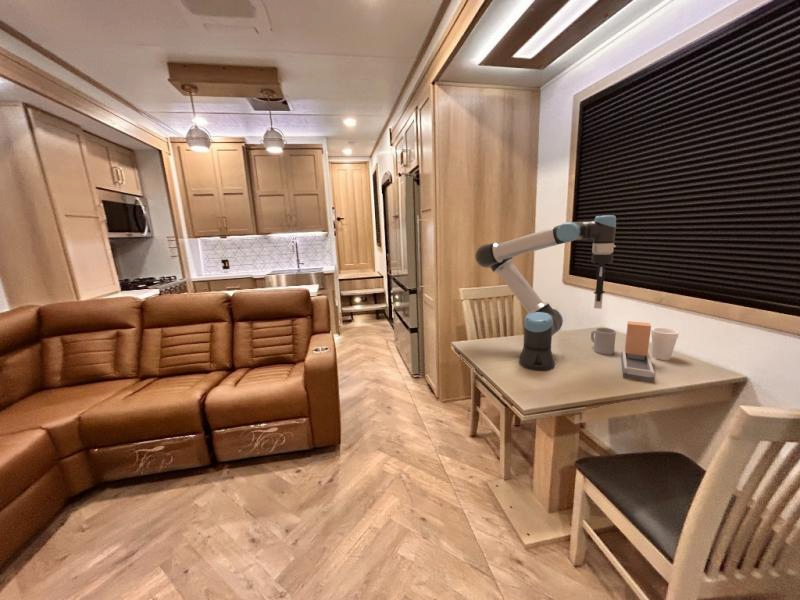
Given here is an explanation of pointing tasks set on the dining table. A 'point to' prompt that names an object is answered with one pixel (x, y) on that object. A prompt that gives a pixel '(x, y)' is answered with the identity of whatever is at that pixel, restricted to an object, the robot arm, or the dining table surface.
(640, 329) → the large orange block
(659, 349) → the foam cup
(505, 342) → the dining table surface
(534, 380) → the dining table surface
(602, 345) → the mug
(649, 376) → the shallow rimmed tray
